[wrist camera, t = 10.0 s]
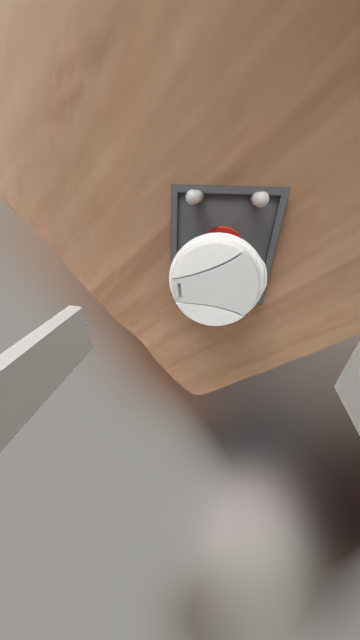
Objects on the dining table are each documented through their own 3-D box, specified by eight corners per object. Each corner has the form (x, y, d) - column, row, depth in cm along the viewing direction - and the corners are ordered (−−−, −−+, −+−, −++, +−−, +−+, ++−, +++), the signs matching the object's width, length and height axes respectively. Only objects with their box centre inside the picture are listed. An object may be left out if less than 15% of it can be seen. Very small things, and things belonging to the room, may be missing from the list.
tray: (174, 185, 29) (159, 182, 23) (286, 187, 26) (303, 186, 20) (173, 290, 36) (162, 309, 30) (260, 299, 34) (266, 322, 28)
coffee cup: (195, 279, 33) (173, 332, 21) (188, 221, 29) (156, 242, 17) (252, 274, 31) (267, 330, 19) (253, 211, 27) (272, 227, 15)
